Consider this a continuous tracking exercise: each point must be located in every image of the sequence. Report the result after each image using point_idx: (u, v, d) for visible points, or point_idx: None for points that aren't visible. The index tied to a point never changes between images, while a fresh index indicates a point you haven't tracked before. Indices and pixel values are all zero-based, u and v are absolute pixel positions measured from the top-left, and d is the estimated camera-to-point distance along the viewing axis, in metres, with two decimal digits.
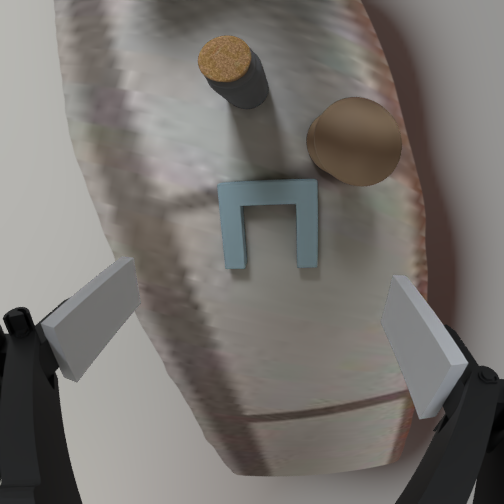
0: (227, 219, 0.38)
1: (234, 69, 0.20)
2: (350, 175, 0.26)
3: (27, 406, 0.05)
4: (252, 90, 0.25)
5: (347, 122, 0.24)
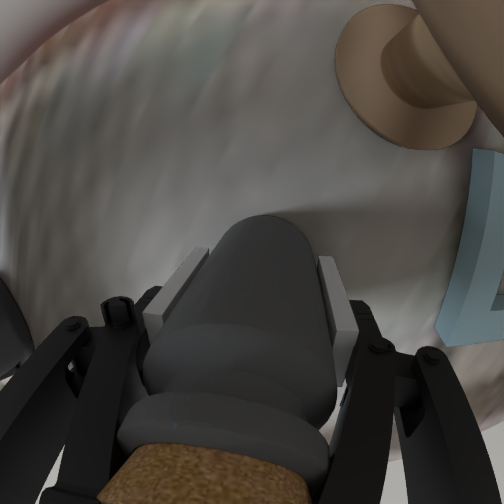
0: (495, 331, 0.14)
1: None
2: None
3: (111, 409, 0.05)
4: (326, 349, 0.07)
5: None
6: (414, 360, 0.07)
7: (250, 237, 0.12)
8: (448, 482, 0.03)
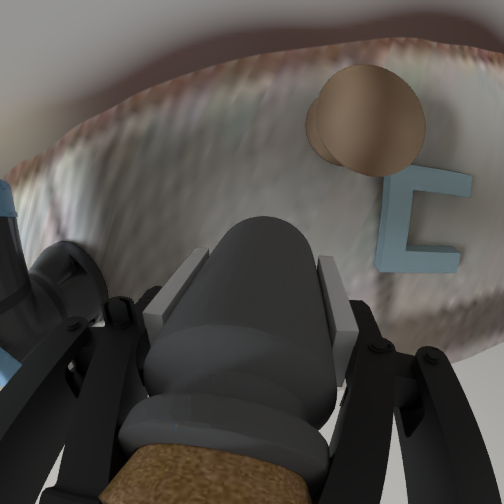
0: (414, 265, 0.31)
1: None
2: (414, 138, 0.18)
3: (111, 409, 0.05)
4: (326, 350, 0.07)
5: (352, 131, 0.19)
6: (414, 360, 0.07)
7: (250, 238, 0.12)
8: (447, 482, 0.03)
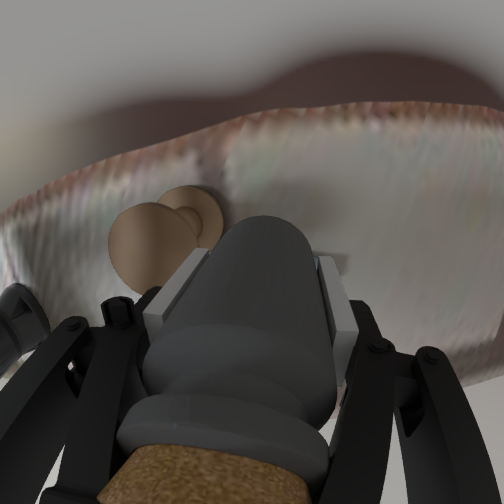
0: None
1: None
2: None
3: (111, 409, 0.05)
4: (326, 349, 0.07)
5: (133, 265, 0.25)
6: (414, 360, 0.07)
7: (250, 237, 0.12)
8: (447, 482, 0.03)
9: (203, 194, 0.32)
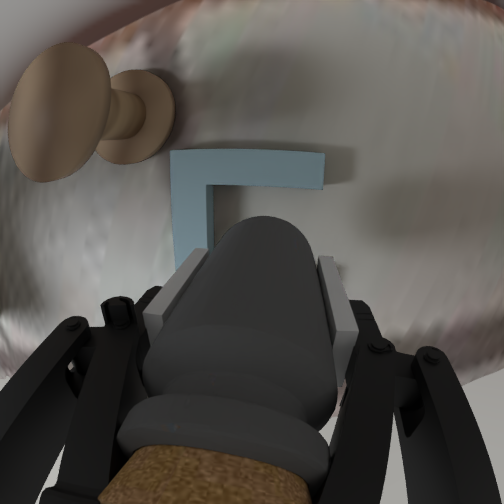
0: None
1: None
2: (83, 116, 0.12)
3: (111, 409, 0.05)
4: (326, 350, 0.07)
5: (27, 135, 0.12)
6: (414, 360, 0.07)
7: (250, 238, 0.12)
8: (448, 482, 0.03)
9: (148, 74, 0.20)
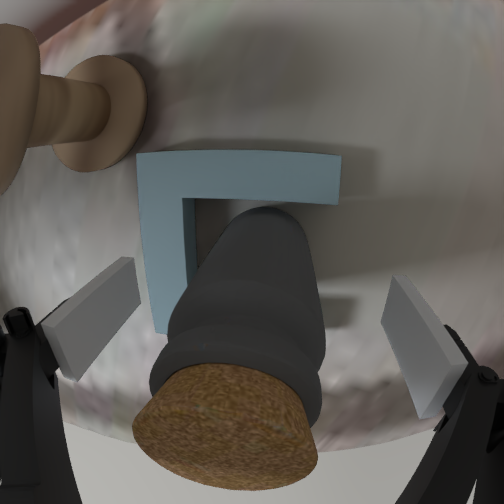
0: None
1: (278, 454, 0.05)
2: (3, 117, 0.07)
3: (27, 407, 0.05)
4: (315, 305, 0.10)
5: None
6: None
7: (253, 223, 0.14)
8: None
9: (115, 59, 0.14)
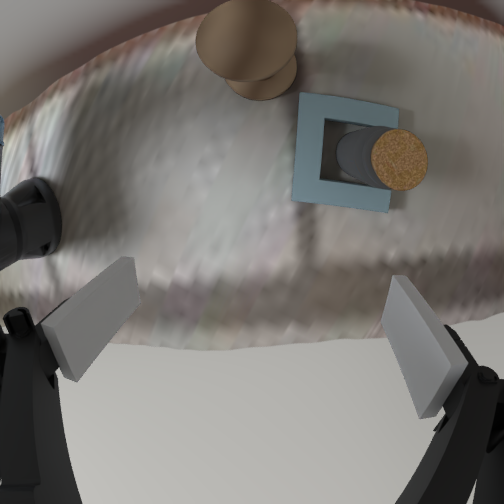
0: (332, 196, 0.32)
1: (418, 152, 0.18)
2: (284, 46, 0.19)
3: (27, 406, 0.05)
4: None
5: (223, 46, 0.20)
6: None
7: None
8: None
9: None
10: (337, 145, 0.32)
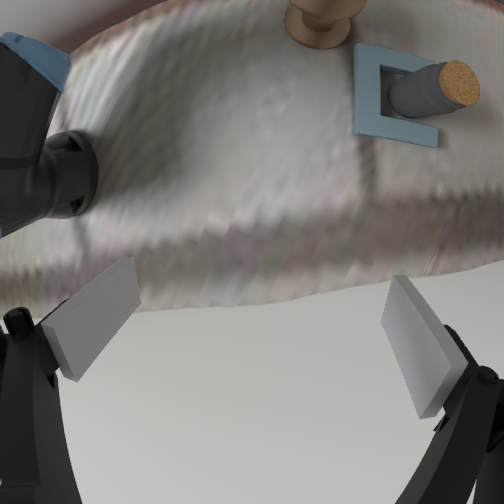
0: (392, 131, 0.31)
1: (472, 78, 0.17)
2: None
3: (27, 407, 0.05)
4: None
5: None
6: None
7: None
8: None
9: None
10: (389, 90, 0.31)
